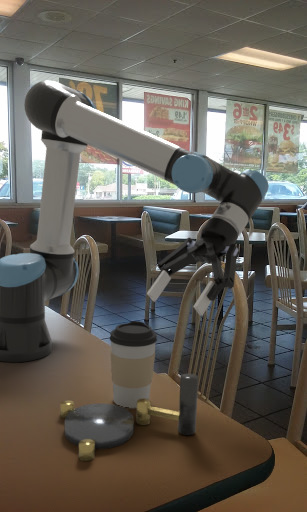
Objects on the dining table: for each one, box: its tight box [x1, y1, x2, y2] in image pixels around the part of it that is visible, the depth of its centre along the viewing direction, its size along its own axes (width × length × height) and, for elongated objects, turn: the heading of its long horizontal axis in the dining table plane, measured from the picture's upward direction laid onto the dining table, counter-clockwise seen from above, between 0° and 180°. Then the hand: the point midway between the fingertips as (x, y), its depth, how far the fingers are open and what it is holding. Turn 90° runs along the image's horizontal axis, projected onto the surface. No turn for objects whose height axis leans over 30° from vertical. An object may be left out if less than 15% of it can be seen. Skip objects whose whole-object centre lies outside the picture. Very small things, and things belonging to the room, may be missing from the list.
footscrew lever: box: [135, 373, 199, 436], centre depth 81 cm, size 11×3×10 cm, turn 70°
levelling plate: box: [60, 399, 135, 462], centre depth 80 cm, size 16×12×2 cm
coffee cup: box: [109, 320, 158, 409], centre depth 91 cm, size 9×9×15 cm
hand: (172, 304), depth 96 cm, fingers open, 13 cm apart
